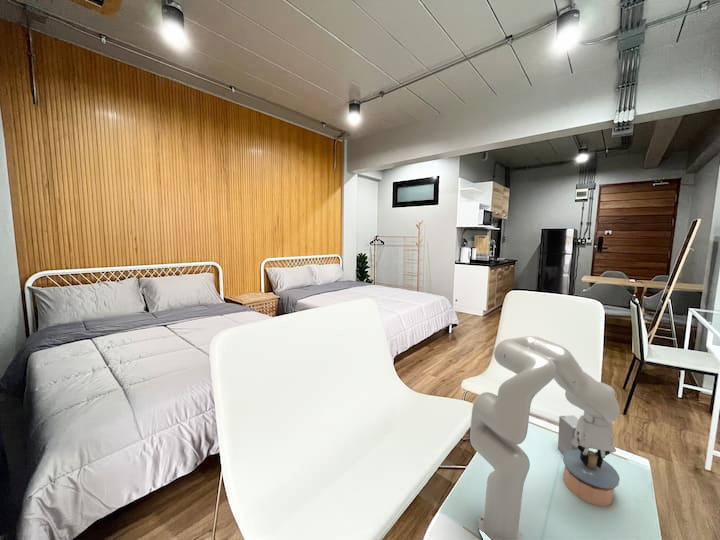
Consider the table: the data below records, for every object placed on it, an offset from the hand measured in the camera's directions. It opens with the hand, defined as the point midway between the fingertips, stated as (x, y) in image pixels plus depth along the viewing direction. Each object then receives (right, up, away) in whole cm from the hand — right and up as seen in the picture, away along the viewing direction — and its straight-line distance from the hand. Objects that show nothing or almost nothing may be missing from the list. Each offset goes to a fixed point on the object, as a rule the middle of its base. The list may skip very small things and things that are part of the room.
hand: (590, 463), depth 105 cm
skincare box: (+5, -8, +17) cm, 19 cm away
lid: (0, -2, 0) cm, 2 cm away
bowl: (0, -10, +1) cm, 10 cm away
